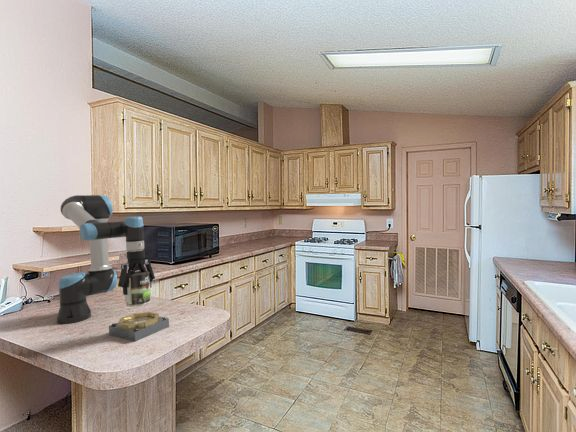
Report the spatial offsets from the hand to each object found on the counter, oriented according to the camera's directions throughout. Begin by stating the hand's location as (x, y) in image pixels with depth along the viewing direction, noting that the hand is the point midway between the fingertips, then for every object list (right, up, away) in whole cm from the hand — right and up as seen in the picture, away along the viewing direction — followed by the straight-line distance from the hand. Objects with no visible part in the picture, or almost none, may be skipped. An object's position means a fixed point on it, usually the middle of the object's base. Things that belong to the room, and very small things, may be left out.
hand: (138, 298), depth 149 cm
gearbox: (+1, -15, +1) cm, 15 cm away
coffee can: (0, -2, 0) cm, 3 cm away
